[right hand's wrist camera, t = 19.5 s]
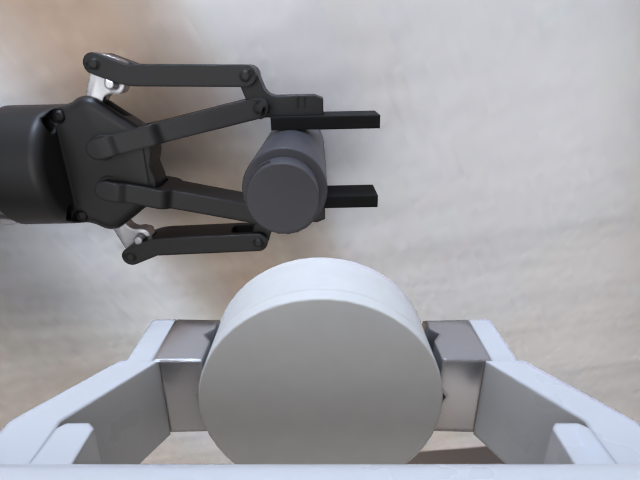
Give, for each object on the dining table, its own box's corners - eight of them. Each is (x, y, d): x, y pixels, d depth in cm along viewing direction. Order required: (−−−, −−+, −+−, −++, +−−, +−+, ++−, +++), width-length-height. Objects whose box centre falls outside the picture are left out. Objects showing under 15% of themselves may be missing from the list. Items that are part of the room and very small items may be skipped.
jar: (258, 142, 34) (217, 196, 20) (297, 104, 33) (283, 133, 19) (295, 181, 35) (281, 258, 21) (334, 145, 34) (346, 202, 20)
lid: (459, 371, 10) (486, 430, 9) (296, 455, 11) (292, 522, 10) (351, 214, 9) (359, 249, 7) (175, 326, 10) (146, 378, 8)
